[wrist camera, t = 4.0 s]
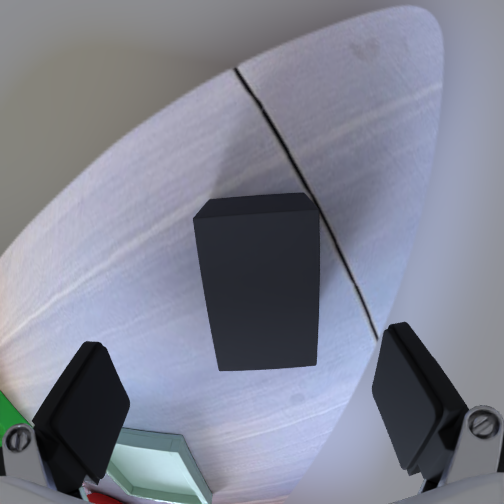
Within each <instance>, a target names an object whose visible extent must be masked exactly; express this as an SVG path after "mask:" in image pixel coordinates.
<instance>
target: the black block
mask: <svg viewBox="0 0 504 504" xmlns="http://www.w3.org/2000/svg"><path fill="white" fill-rule="evenodd" d="M193 223H194V230H195V237H196V244H197V251H198V257H199V264H200V270H201V276H202V282H203V288H204V294H205V300H206V306H207V311H208V317H209V322H210V328H211V333H212V338H213V344H214V349H215V354H216V359H217V364H218V369H219V371H244V370H266V369H281V368H294V367H306V366H315V365H316V363H317V345H318V322H319V285H320V226H319V209H318V208H317V207H316V205H315V204H314V203H313V202H312V201H311V200H310V199H309V197H308V196H307V195H306V194H305V193H287V194H272V195H257V196H244V197H232V198H221V199H210V200H208V201H207V203H206V204H205V205H204V206H203V207H202V208H201V210H200V211H199V212H198V213H197V214H196V216H195V217H194V218H193Z"/></svg>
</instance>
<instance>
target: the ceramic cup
mask: <svg viewBox="0 0 504 504" xmlns="http://www.w3.org/2000/svg"><path fill="white" fill-rule="evenodd" d="M86 496H87V498H88V500H89V502H91V503H95V504H122V503H121V502H119V501H117V500H115V499H113V498H111V497H109V496H106V495H103V494H100V493H92V494H89V495H86Z"/></svg>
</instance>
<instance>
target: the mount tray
mask: <svg viewBox="0 0 504 504" xmlns="http://www.w3.org/2000/svg"><path fill="white" fill-rule="evenodd" d="M106 473H107V474H108V475H109V476H110V477H111V478H112V480H113V481H114V482H115V483H116V484H117V485H118V486H119V487H120V488H121V489H122V490H123V491H124V492H125V493H126V494H127V495H130V496H134V497H139V498H144V499H149V500H154V501H160V502H166V503H172V504H212V493H211V492H210V490H209V488H208V486H207V484H206V483H205V481H204V479H203V477H202V475H201V473H200V471H199V469H198V467H197V465H196V463H195V461H194V459H193V457H192V455H191V453H190V451H189V449H188V447H187V445H186V443H185V440H184V438H183V436H182V435H174V434H164V433H155V432H147V431H139V430H132V429H126V428H122V429H121V431H120V434H119V437H118V439H117V442H116V445H115V448H114V450H113V453H112V456H111V459H110V462H109V464H108V467H107V470H106Z"/></svg>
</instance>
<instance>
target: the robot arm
mask: <svg viewBox="0 0 504 504" xmlns="http://www.w3.org/2000/svg"><path fill="white" fill-rule="evenodd" d="M372 394H373V397H374V399H375V402H376V404H377V406H378V409H379V411H380V414H381V416H382V419H383V421H384V424H385V426H386V429H387V432H388V434H389V437H390V439H391V442H392V444H393V447H394V450H395V452H396V455H397V458H398V460H399V463H400V466H401V468H402V469H403V470H406V469H407V471H408V474H409V476H411V475H413V474H416V473H419V472H421V473H422V476H423V478H424V481H423V483H422V485H421V487H420V490H419V492H418V494H417V495H415V496H413V497H409V498H406V499H403V500H400V501H397V502H393V503H390V504H504V420H503V418H502V416H501V414H500V413H499V412H498V411H497V410H495V409H494V408H492V407H489V406H483V405H480V406H475V407H474V408H472V409H470V410H469V409H468V407H467V405H466V404H465V402H464V401H463V399H462V398H461V396H460V395H459V393H458V392H457V390H456V389H455V387H454V386H453V384H452V383H451V381H450V380H449V378H448V377H447V375H446V374H445V373H444V371H443V370H442V368H441V367H440V365H439V364H438V363H437V361H436V360H435V359H434V357H432V355H431V354H430V353H429V351H428V350H427V348H426V347H425V346H424V344H423V343H422V342H421V340H420V339H419V338H418V336H417V335H416V334H415V332H414V331H413V330H412V328H411V327H410V326H409V324H408V323H406V322H402V323H397V324H391V325H389V327H388V329H386V330H385V331H384V333H383V338H382V344H381V348H380V354H379V358H378V363H377V368H376V372H375V376H374V381H373V385H372ZM129 407H130V400H129V398H128V395H127V393H126V391H125V389H124V387H123V385H122V383H121V381H120V378H119V376H118V374H117V372H116V369H115V367H114V365H113V363H112V360H111V358H110V355H109V353H108V351H107V349H106V347H104V346H103V345H102V344H101V343H100V342H89V341H86V342H84V343H83V344H82V346H81V347H80V348H79V350H78V351H77V353H76V354H75V356H74V357H73V358H72V360H71V361H70V363H69V364H68V366H67V367H66V369H65V370H64V371H63V373H62V374H61V376H60V377H59V379H58V380H57V382H56V383H55V385H54V386H53V388H52V390H51V391H50V393H49V394H48V396H47V397H46V399H45V400H44V402H43V404H42V405H41V407H40V408H39V410H38V412H37V413H36V415H35V416H34V418H33V420H32V422H33V423H34V425H35V426H34V428H32V427H31V426H30V425H28V424H26V423H18V424H15V425H13V426H11V427H10V428H9V429H7V431H6V432H5V433H4V435H3V438H2V446H1V447H0V504H95V503H91V502H89V500H88V498H87V496H86V494H85V491H84V489H83V487H82V484H83V481H85V482H88V483H91V484H95V485H98V484H99V481H100V479H102V478H103V477H104V476H105V473H106V470H107V467H108V464H109V462H110V459H111V456H112V453H113V450H114V448H115V445H116V442H117V439H118V437H119V434H120V431H121V429H122V426H123V423H124V421H125V418H126V416H127V413H128V410H129Z"/></svg>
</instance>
